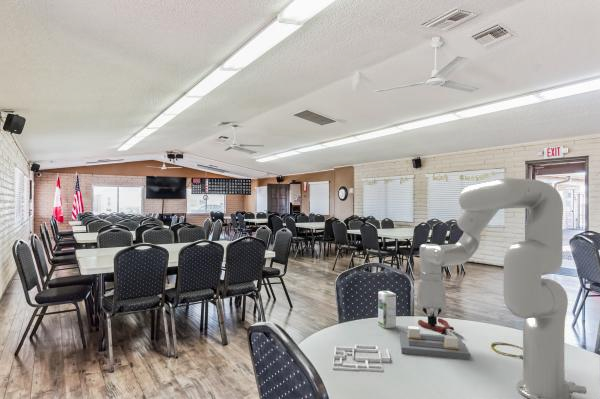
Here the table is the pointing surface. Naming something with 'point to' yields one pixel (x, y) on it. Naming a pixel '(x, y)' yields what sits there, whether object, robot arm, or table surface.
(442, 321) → the pliers
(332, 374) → the table surface
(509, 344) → the extension cord
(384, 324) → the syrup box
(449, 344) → the tab
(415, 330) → the tab
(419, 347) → the switch panel
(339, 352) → the floor plan model
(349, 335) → the table surface
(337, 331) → the table surface
